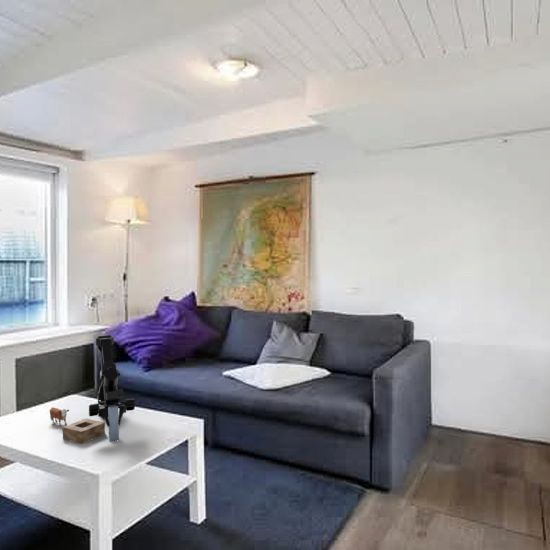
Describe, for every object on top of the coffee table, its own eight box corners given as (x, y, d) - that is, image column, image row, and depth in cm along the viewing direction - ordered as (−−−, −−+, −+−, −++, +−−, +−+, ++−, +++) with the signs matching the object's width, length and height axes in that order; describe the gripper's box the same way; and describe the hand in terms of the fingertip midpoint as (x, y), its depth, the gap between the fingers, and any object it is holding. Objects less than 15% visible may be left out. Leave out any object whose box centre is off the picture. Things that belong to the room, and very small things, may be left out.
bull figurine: (62, 428, 208) (62, 411, 208) (48, 422, 216) (47, 405, 216) (71, 425, 212) (71, 408, 211) (57, 420, 220) (56, 403, 219)
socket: (86, 429, 207) (86, 418, 206) (105, 433, 201) (104, 422, 201) (62, 438, 196) (62, 427, 196) (81, 443, 190) (81, 431, 190)
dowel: (114, 437, 197) (113, 405, 196) (121, 438, 195) (120, 406, 194) (107, 440, 193) (106, 407, 193) (113, 442, 191) (112, 409, 191)
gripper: (88, 385, 193) (90, 419, 183) (134, 380, 201) (138, 412, 191) (88, 399, 200) (90, 432, 191) (132, 393, 208) (136, 425, 198)
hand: (114, 425), depth 192 cm, fingers closed on dowel, 4 cm apart
